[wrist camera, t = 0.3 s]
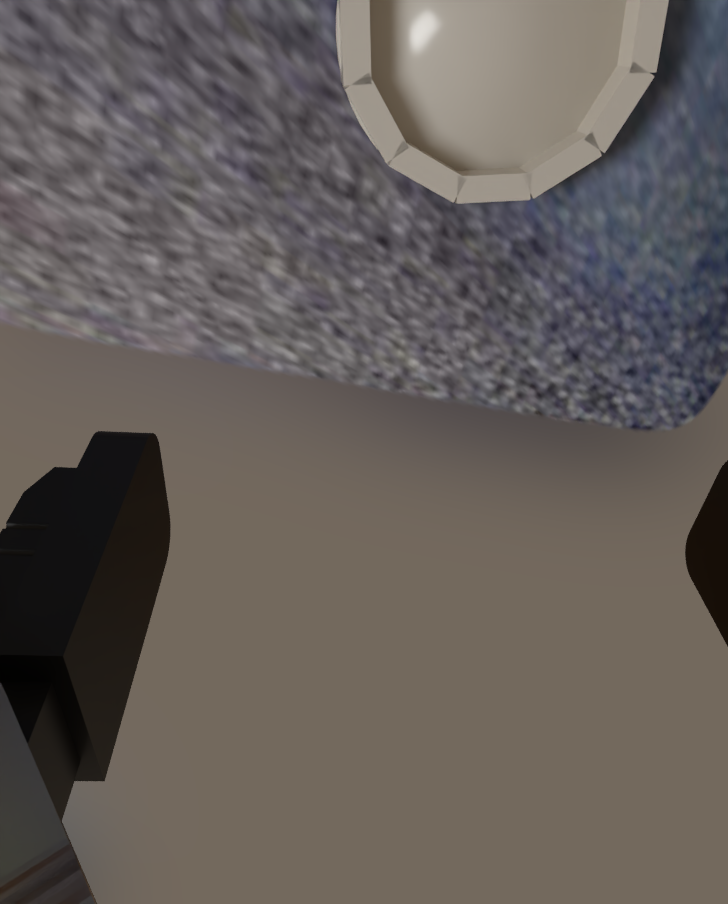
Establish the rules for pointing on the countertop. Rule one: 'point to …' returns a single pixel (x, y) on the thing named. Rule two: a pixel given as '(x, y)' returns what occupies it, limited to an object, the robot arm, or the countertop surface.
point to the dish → (495, 86)
